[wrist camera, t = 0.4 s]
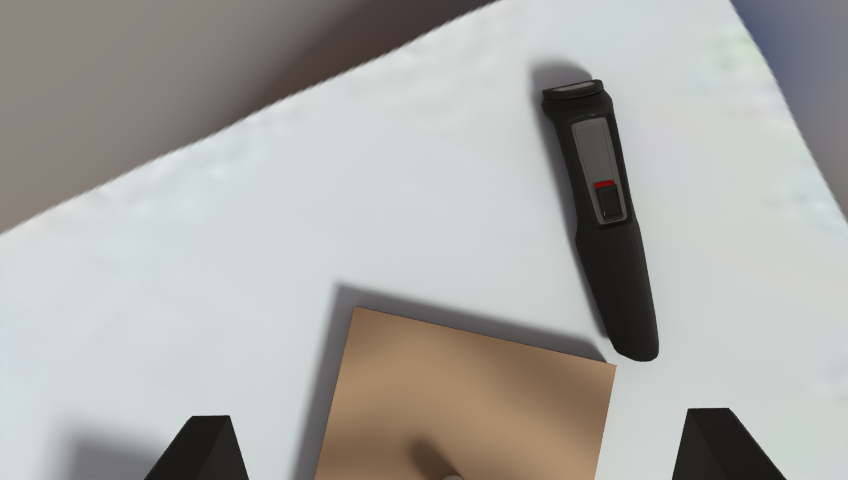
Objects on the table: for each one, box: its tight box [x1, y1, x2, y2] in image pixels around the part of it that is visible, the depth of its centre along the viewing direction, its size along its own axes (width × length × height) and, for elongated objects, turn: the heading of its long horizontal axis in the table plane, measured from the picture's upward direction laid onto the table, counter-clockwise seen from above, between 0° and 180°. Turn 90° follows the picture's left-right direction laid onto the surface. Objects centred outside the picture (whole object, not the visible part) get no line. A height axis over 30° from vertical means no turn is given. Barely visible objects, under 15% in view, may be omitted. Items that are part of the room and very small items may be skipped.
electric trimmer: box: [541, 79, 659, 362], centre depth 39 cm, size 4×16×3 cm, turn 12°
